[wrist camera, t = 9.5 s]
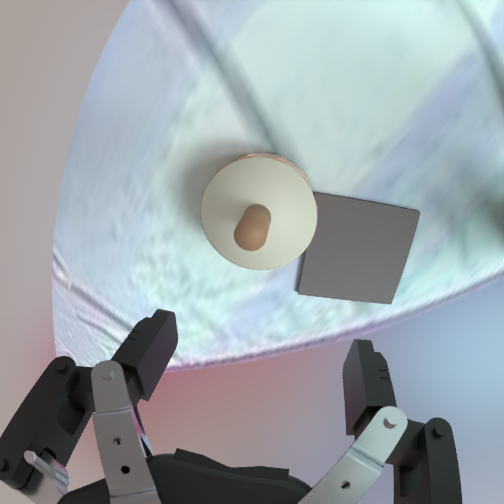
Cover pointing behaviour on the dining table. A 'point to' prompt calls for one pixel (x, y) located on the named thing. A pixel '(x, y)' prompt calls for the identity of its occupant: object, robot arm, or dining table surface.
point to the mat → (357, 249)
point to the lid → (258, 213)
